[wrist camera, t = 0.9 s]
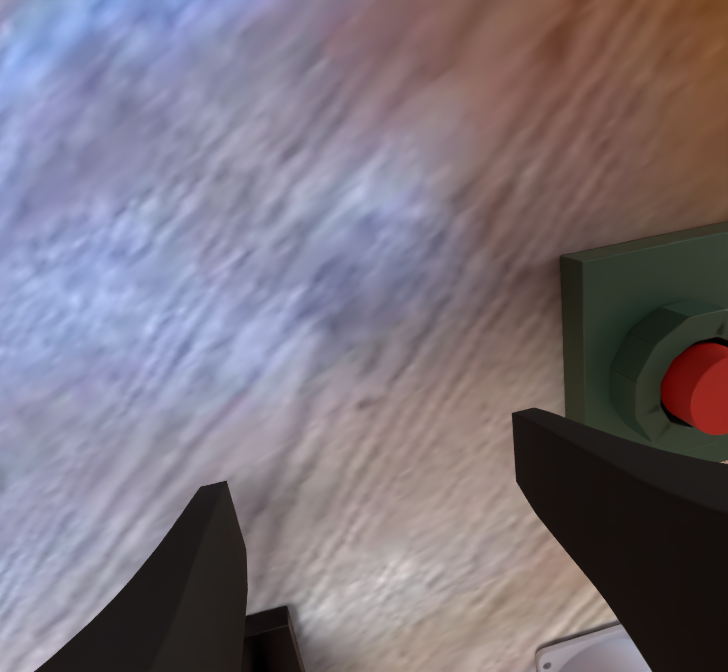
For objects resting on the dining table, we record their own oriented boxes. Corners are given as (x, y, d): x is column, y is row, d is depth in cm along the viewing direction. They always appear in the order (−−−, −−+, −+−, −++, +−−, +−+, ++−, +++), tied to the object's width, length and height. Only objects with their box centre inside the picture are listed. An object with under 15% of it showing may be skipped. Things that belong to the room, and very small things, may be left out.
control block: (718, 439, 28) (778, 475, 25) (567, 480, 27) (609, 522, 24) (735, 219, 24) (810, 226, 21) (559, 255, 23) (609, 269, 20)
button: (728, 407, 23) (763, 424, 22) (658, 425, 23) (688, 444, 21) (734, 333, 22) (772, 346, 21) (660, 351, 22) (693, 365, 20)
